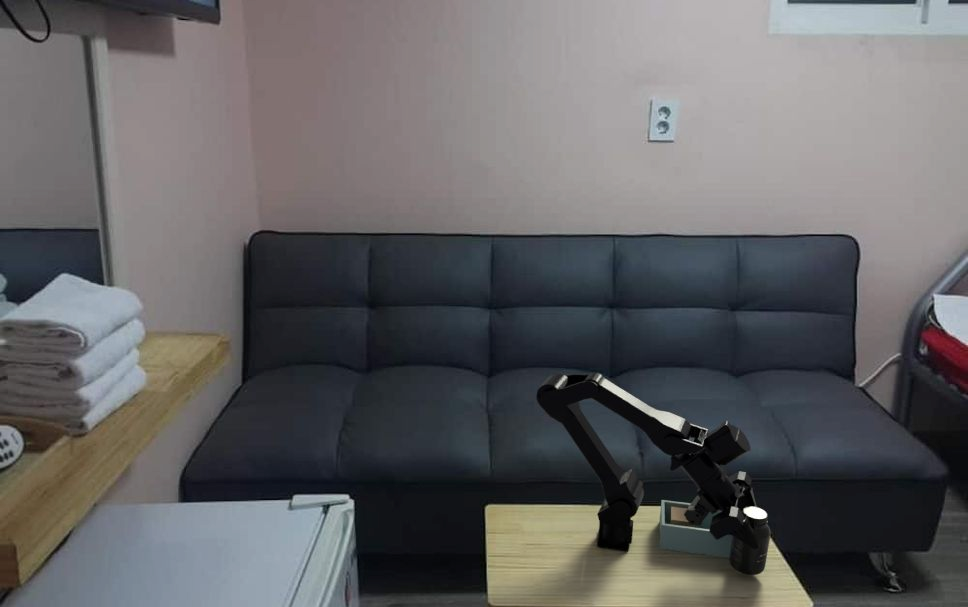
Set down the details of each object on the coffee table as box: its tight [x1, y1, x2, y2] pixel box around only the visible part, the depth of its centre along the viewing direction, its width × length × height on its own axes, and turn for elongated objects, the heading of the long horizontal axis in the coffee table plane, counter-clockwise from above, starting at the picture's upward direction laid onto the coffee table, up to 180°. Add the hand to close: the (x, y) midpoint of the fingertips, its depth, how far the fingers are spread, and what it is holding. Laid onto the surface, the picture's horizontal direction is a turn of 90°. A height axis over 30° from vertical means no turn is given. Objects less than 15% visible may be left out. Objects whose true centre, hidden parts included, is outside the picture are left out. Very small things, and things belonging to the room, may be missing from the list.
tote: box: [658, 499, 732, 559], centre depth 170 cm, size 16×10×6 cm, turn 79°
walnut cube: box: [669, 507, 696, 528], centre depth 171 cm, size 5×5×5 cm
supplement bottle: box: [728, 506, 772, 576], centre depth 158 cm, size 7×7×12 cm
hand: (758, 537), depth 158 cm, fingers closed on supplement bottle, 7 cm apart
